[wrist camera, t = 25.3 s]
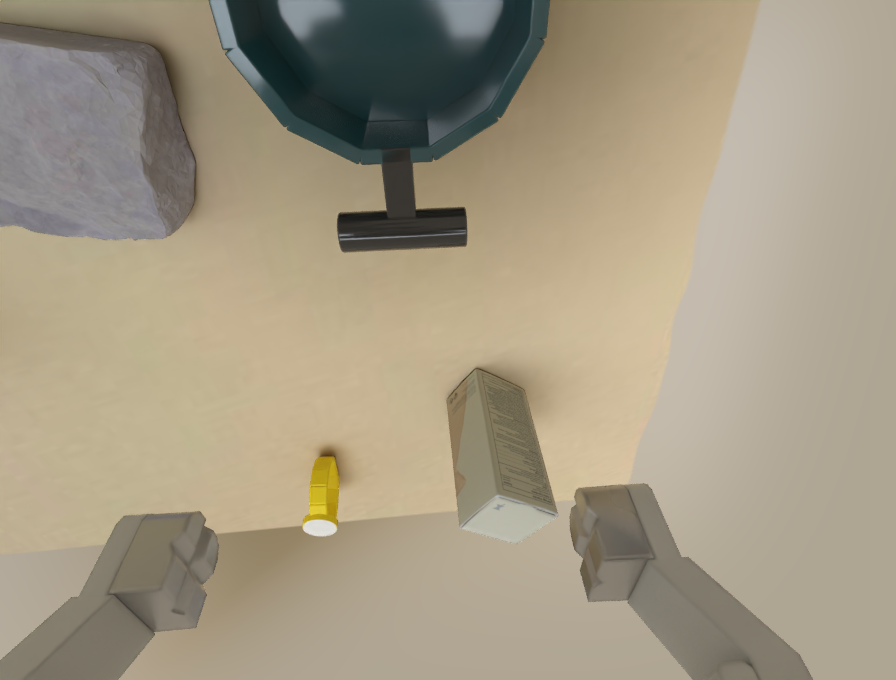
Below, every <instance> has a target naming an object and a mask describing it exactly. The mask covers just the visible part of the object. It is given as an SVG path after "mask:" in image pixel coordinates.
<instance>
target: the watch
mask: <svg viewBox="0 0 896 680" xmlns="http://www.w3.org/2000/svg"><path fill="white" fill-rule="evenodd" d="M310 486H311V487H310V492H309V513H310V514H309V515H307V516H305V518H304V519H303V525H302V528H303V530H304V531H305V532H307V533H308V534H310V535H314V536H328V535H332V534H333V533H334V532H336V531H337V526H338V520H337V518H336V516H337V509H338V497H339V489H338V488H339V474H338V470H337V466H336V462H335V457H334V456H332V457H319V458H317V459H316V460H315V463H314V466H313V469H312V475H311V481H310Z"/></svg>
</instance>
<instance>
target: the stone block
mask: <svg viewBox="0 0 896 680" xmlns="http://www.w3.org/2000/svg"><path fill="white" fill-rule="evenodd" d="M195 169H196V163H195V160H194V157H193V154H192V152H191V150H190V148H189V146H188V142H187V139H186V136H185V133H184V131H183V129H182V126H181V122H180V119H179V116H178V112H177V104H176V101H175V99H174V96H173V93H172V89H171V86H170V82H169V79H168V76H167V73H166V68H165V64H164V62H163V59H162V57H161V55H160V53H159V52H158V51H157V50H156V49H155V48H154V47H152V46H150V45H148V44H145V43H143V42H133V41H129V40H122V39H113V38H105V37H97V36H91V35H85V34H76V33H68V32H60V31H54V30H48V29H42V28H35V27H26V26H19V25H12V24H6V23H0V227H1V226H12V225H14V226H19V227H23V228H26V229H28V230H30V231H33V232H38V233H43V234H50V235H57V236H66V237H85V236H88V237H91V238H97V239H103V240H110V239H113V240H122V239H127V238H132V239H133V240H138V239H163V238H166V237H167V236H170V235H171V234H172V233H174V232H175V231H176V230H177V229H178V228H179V227H181V225H182V224H183V223H184V221H185V219H186V218H187V216H188V214H189V212H190V210H191V208H192V206H193V205H194V177H195Z"/></svg>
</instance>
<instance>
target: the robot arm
mask: <svg viewBox="0 0 896 680" xmlns="http://www.w3.org/2000/svg"><path fill="white" fill-rule="evenodd" d="M574 498H575V501H576V505H575V506H574V507H572V508H571V513H570V531H571V537H572V541H573V546H574V549H575V551H576V552H577V553H578V554H579V555H580V556H581V557H582V558H583V562H582V565H581V569H580V572H581V576H582V580H583V584H584V587H585V591H586V595H587V598H588V601H589V602H596V601H621V600H628V604H629V605H630V606H631V607H632V608H633V609H634V611H635V612H636V613H637V614H638V615H639V617H641V619H642V620H643V621H644V623H645V624H646V625H647V626H648V627H649V628H650V629H651V630H652V632H653V633H654V634H655V635H656V637H657V638H658V639H659V640H660V641H661V642H662V644H663V645H664V646H665V647H666V649H667V650H668V651H669V652H670V653H671V654H672V656H673V657H674V658H675V659H676V660H677V661H678V663H679V664H680V665H681V666H682V667H683V669H685V671H686V672H687V673H688V674H689V676H690V677H691V678H692V679H693V680H813V679H812V677H811V675H810V673H809V671H808V669H807V667H806V666H805V664H804V662H803V660H802V658H801V656H800V655H799V654H798V653H797V652H796V651H795V650H794V649H793V648H791V647H790V646H789V645H788V644H787V643H786V642H785V641H783V640H782V639H781V638H780V637H779V636H778V635H777V634H776V633H774V632H773V631H772V630H771V629H770V628H769V627H768V626H766V625H765V624H764V623H763V622H762V621H761V620H760V619H758V618H757V617H756V616H755V615H754V614H753V613H752V612H750V611H749V610H748V609H747V608H746V607H745V606H744V605H742V604H741V603H740V602H739V601H738V600H737V599H735V598H734V597H733V596H732V595H731V594H730V593H729V592H728V591H727V590H725V589H724V588H723V587H722V586H721V585H720V584H719V583H717V582H716V581H715V580H714V579H713V578H712V577H711V576H709V575H708V574H707V573H706V572H705V571H704V570H703V569H701V568H700V567H699V566H698V565H697V564H696V563H695V562H693V561H692V560H691V559H690V558H689V557H681V555H680V553H679V550H678V548H677V546H676V543H675V541H674V539H673V537H672V534H671V532H670V530H669V528H668V525H667V523H666V521H665V519H664V516H663V514H662V512H661V509H660V507H659V505H658V502H657V500H656V498H655V496H654V494H653V491H652V489H651V488H650V487H649V486H648V485H647V484H644V483H643V484H628V485H609V486H597V487H584V488H578V489H577V490H576V492H575V496H574ZM205 521H206V518H205V517H204V516H203V514H202V513H201V512H200V511H197V512H181V513H165V514H142V515H128V516H124V517H123V518H122V519H121V520H120V521H119V522H118V523H117V524H116V525H115V527H114V529H113V531H112V533H111V535H110V537H109V539H108V541H107V543H106V545H105V547H104V549H103V551H102V553H101V554H100V556H99V558H98V560H97V562H96V564H95V566H94V568H93V570H92V572H91V574H90V576H89V578H88V580H87V582H86V584H85V586H84V587H83V590H82V591H81V593H80V595H79V597H71V598H70V599H69V600H68V601H67V602H66V603H64V604H63V605H62V606H61V607H60V608H59V609H58V610H56V611H55V612H54V613H53V614H52V615H51V616H50V617H49V618H47V619H46V620H45V621H44V622H43V623H42V624H41V625H40V626H38V627H37V628H36V629H35V630H34V631H33V632H32V633H31V634H29V635H28V636H27V637H26V638H25V639H24V640H23V641H21V643H19V644H18V645H17V646H16V647H15V648H14V649H12V650H11V651H10V652H9V653H8V654H7V655H6V656H5V657H3V658H2V659H1V660H0V680H118V679H119V678H120V677H121V675H122V674H123V673H124V672H125V671H126V669H127V668H128V667H129V666H130V665H131V663H132V662H133V661H134V660H135V658H136V657H137V656H138V655H139V653H140V652H141V651H142V650H143V649H144V648H145V646H146V645H147V644H148V643H149V641H150V640H151V639H152V638H153V637H154V635H155V633H154V632H160V631H170V630H181V629H191V628H196V627H197V623H198V620H199V617H200V614H201V611H202V608H203V605H204V602H205V598H206V596H207V594H206V592H205V589H204V586H203V584H204V583H205V582H206V581H207V580H208V579H209V578H210V576H211V575H212V574H213V573H214V570H215V567H216V563H217V560H218V548H219V544H218V540H217V536H216V534H215V533H214V531H213V530H211V529H209V528H207V527H205V526H204V524H205Z"/></svg>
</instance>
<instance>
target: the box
mask: <svg viewBox="0 0 896 680" xmlns="http://www.w3.org/2000/svg"><path fill="white" fill-rule="evenodd" d="M447 409H448V420H449V429H450V438H451V448H452V458H453V468H454V478H455V488H456V497H457V507H458V517H459V527H460V528H461V529H463V530H467V531H470V532H474V533H478V534H481V535H484V536H488V537H491V538H495V539H499V540H502V541H506V542H510V543H513V544H518V543H520V542H521V541H523V540H524V539H526V538H527V537H529V536H530V535H532V534H533V533H534V532H536V531H537V530H539V529H540V528H542V527H543V526H545V525H546V524H547V523H549V522H550V521H552V520H553V519H555V518H556V517H558V512H557V509H556V505H555V501H554V497H553V494H552V490H551V486H550V483H549V479H548V475H547V472H546V468H545V464H544V460H543V457H542V453H541V449H540V446H539V442H538V438H537V435H536V431H535V427H534V424H533V420H532V416H531V412H530V409H529V405H528V401H527V397H526V394H525V391H524V390H523V389H521V388H519V387H517V386H515V385H513V384H511V383H509V382H507V381H504V380H502V379H500V378H498V377H496V376H493V375H491V374H489V373H486V372H483V371H481V370H479V369H475V370H474V371H473V372H472V373H471V374H470V375H469V376H468V377H467V378H466V379H465V380H464V381H463V382H462V384H461V385H460V386H459V387H458V388H457V389H456V390H455V391H454V392H453V393H452V395H451V396H450V397H449V398H448V399H447Z"/></svg>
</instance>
